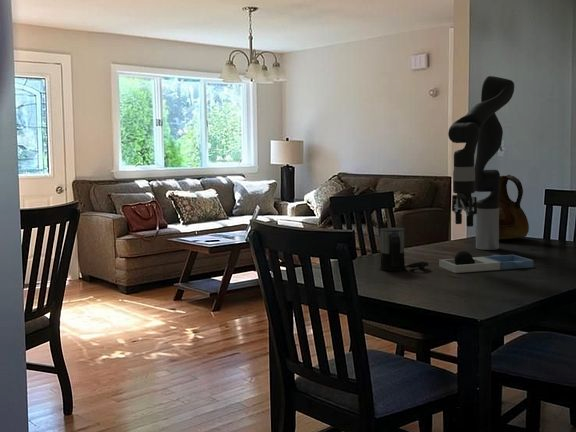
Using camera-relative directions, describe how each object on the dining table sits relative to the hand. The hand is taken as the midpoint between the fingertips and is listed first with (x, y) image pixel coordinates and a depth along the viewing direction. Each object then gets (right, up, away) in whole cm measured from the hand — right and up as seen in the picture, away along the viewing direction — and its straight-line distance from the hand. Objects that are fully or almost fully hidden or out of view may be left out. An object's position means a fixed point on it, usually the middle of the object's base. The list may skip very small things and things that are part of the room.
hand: (464, 225), depth 233 cm
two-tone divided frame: (+9, -15, +3) cm, 18 cm away
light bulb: (+1, -16, +1) cm, 16 cm away
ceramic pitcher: (+37, -8, +67) cm, 77 cm away
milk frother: (-21, -16, +3) cm, 27 cm away
